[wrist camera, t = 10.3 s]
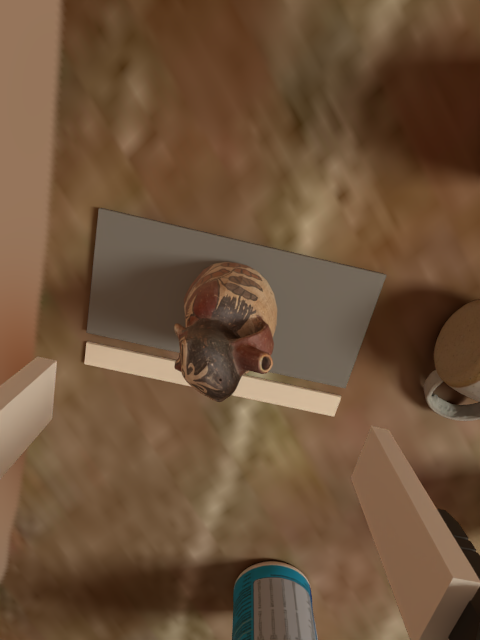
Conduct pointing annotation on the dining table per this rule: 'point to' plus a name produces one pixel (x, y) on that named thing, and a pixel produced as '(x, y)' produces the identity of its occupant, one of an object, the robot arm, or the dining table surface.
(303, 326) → the mat
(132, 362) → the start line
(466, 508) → the dining table surface
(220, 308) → the figurine
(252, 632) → the beverage bottle
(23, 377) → the robot arm
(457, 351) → the ceramic mug
